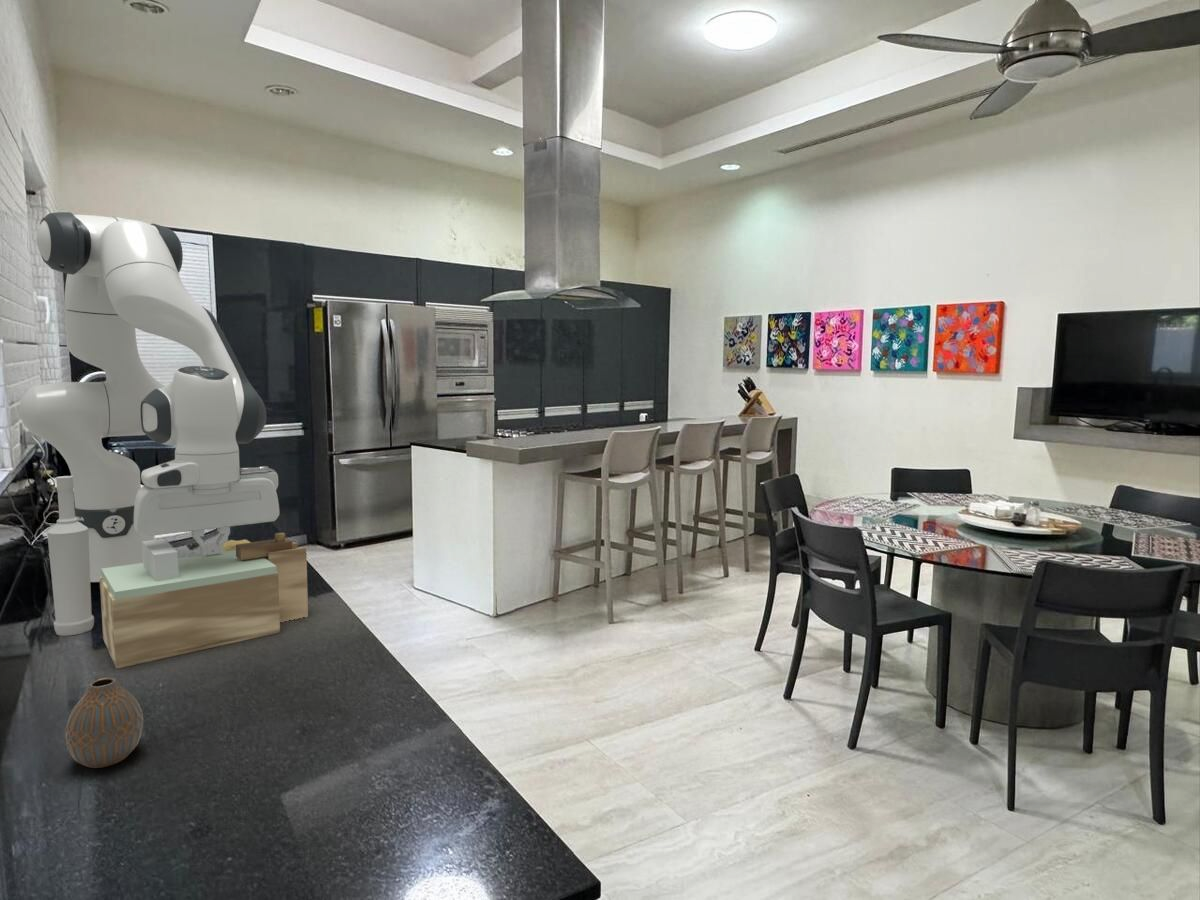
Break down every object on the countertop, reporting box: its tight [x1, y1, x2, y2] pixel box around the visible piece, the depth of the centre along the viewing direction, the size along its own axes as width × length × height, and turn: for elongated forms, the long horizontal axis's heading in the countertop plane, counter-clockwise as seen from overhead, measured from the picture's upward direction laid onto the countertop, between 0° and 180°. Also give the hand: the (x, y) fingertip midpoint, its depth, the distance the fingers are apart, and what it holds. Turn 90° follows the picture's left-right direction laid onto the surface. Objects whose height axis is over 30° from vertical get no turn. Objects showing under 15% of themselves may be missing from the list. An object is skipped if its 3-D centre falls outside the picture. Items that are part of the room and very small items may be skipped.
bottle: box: [46, 475, 95, 637], centre depth 110 cm, size 5×5×25 cm
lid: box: [101, 538, 277, 600], centre depth 109 cm, size 14×21×5 cm
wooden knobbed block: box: [236, 532, 293, 560], centre depth 116 cm, size 3×8×3 cm, turn 132°
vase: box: [64, 677, 144, 769], centre depth 75 cm, size 7×7×9 cm
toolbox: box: [99, 542, 309, 670], centre depth 111 cm, size 14×28×12 cm, turn 132°
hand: (211, 555), depth 111 cm, fingers closed
